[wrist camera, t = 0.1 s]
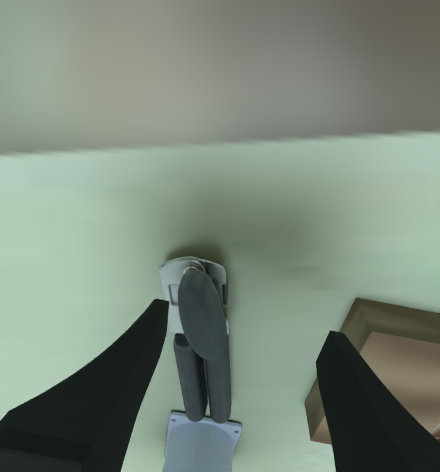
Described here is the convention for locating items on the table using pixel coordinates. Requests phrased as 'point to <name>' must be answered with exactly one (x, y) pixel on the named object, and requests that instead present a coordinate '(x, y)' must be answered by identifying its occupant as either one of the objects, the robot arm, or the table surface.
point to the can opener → (199, 333)
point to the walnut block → (391, 360)
